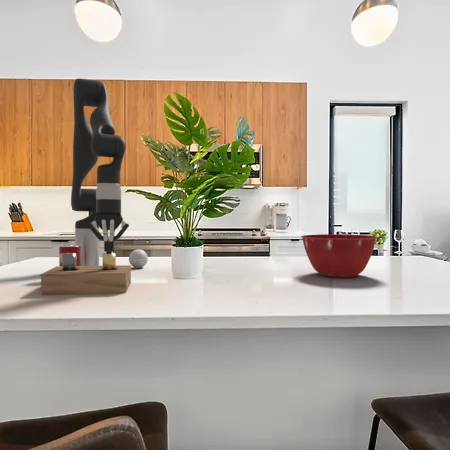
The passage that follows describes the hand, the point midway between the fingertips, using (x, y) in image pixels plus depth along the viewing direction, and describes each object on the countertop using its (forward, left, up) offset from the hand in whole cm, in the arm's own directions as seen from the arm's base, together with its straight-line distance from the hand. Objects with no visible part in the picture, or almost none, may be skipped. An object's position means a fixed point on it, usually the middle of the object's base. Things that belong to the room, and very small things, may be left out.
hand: (109, 253), depth 123 cm
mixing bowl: (-16, +84, -11) cm, 86 cm away
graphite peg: (0, -12, -6) cm, 13 cm away
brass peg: (0, 0, -6) cm, 6 cm away
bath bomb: (-43, +6, -11) cm, 45 cm away
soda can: (-18, -16, -11) cm, 27 cm away
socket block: (0, -6, -11) cm, 13 cm away
